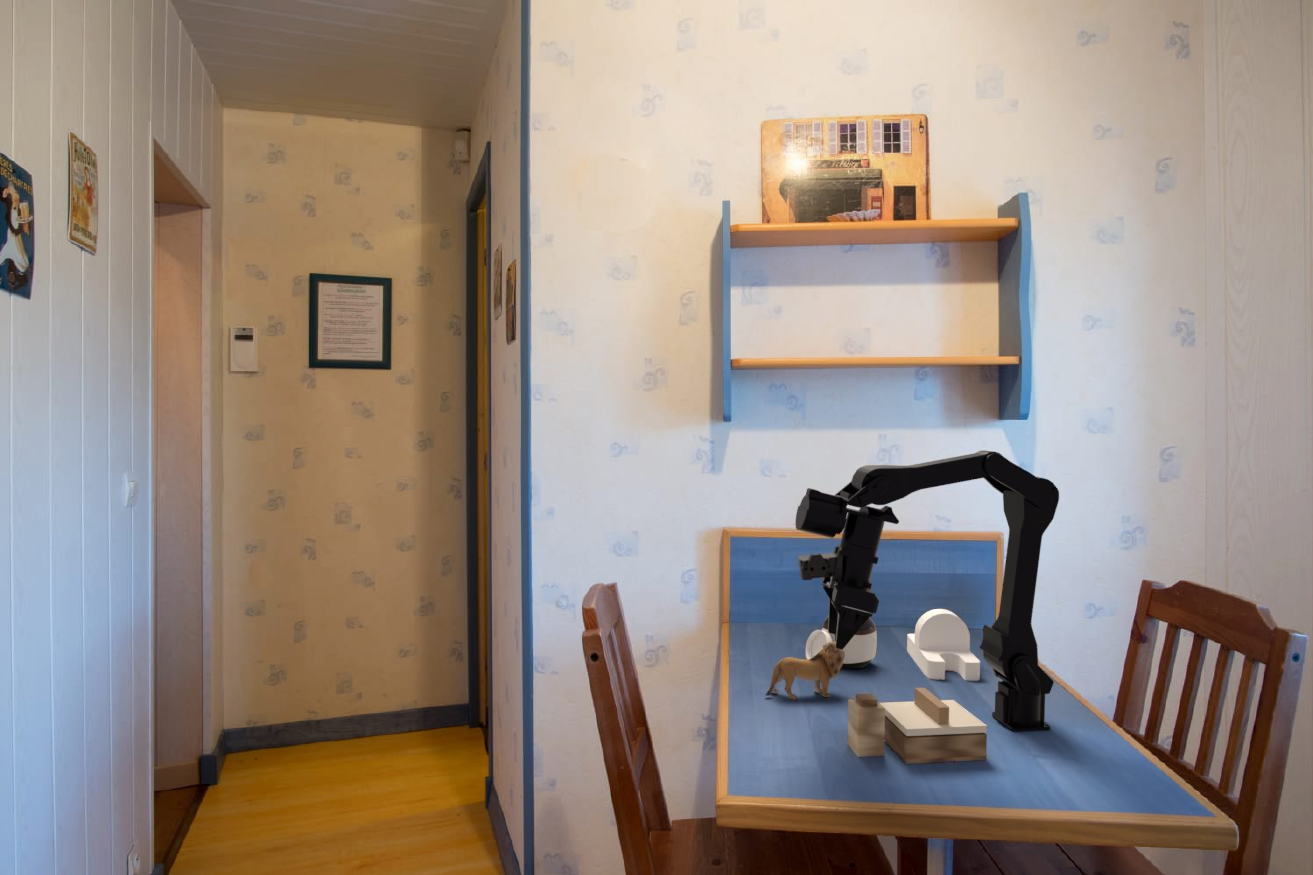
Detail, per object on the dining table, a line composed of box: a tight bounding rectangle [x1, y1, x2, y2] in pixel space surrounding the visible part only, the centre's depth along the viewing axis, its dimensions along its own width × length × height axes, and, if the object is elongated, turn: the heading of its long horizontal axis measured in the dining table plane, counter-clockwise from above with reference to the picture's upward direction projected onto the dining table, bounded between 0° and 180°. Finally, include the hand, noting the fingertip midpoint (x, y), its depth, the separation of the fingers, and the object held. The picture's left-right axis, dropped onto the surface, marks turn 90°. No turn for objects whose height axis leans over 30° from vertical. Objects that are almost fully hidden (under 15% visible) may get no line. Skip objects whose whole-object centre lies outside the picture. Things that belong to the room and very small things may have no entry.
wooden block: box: [847, 693, 885, 758], centre depth 117 cm, size 4×4×8 cm
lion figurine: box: [765, 642, 845, 701], centre depth 139 cm, size 15×5×9 cm, turn 105°
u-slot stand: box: [906, 608, 981, 682], centre depth 156 cm, size 10×18×11 cm, turn 175°
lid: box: [879, 687, 988, 736], centre depth 118 cm, size 12×10×4 cm
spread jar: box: [805, 616, 878, 669], centre depth 156 cm, size 12×11×12 cm
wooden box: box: [884, 716, 988, 765], centre depth 118 cm, size 12×10×4 cm
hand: (835, 640), depth 125 cm, fingers open, 9 cm apart
